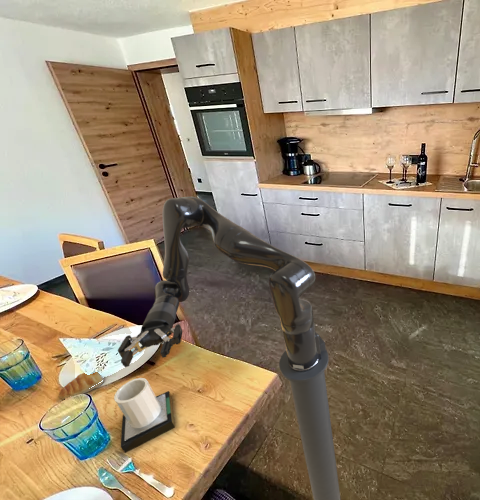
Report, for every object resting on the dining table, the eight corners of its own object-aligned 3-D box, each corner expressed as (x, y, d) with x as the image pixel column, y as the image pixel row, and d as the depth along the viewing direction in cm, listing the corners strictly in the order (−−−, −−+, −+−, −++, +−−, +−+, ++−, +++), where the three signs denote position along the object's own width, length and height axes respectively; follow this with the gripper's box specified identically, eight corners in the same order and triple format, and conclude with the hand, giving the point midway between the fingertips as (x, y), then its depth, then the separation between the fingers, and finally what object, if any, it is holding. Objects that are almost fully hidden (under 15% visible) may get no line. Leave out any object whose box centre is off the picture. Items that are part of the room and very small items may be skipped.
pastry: (63, 407, 75) (56, 397, 74) (59, 393, 79) (52, 383, 78) (107, 382, 82) (101, 373, 80) (100, 371, 86) (95, 361, 84)
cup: (160, 398, 73) (147, 373, 69) (161, 418, 68) (147, 392, 64) (130, 412, 70) (115, 386, 66) (129, 433, 65) (112, 408, 61)
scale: (171, 396, 77) (168, 389, 75) (175, 427, 69) (171, 420, 68) (126, 417, 72) (122, 410, 71) (124, 453, 64) (119, 445, 63)
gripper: (128, 316, 84) (105, 357, 70) (182, 304, 87) (170, 341, 74) (138, 335, 87) (118, 378, 73) (189, 324, 91) (179, 362, 77)
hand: (144, 359), depth 73 cm, fingers open, 8 cm apart
